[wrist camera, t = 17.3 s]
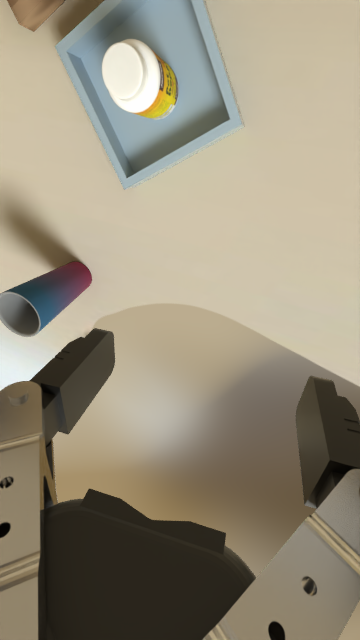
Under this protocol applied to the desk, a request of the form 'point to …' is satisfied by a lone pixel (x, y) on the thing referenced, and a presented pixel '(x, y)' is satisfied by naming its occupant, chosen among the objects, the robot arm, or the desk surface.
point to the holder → (33, 11)
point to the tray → (184, 59)
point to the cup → (42, 298)
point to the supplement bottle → (139, 80)
